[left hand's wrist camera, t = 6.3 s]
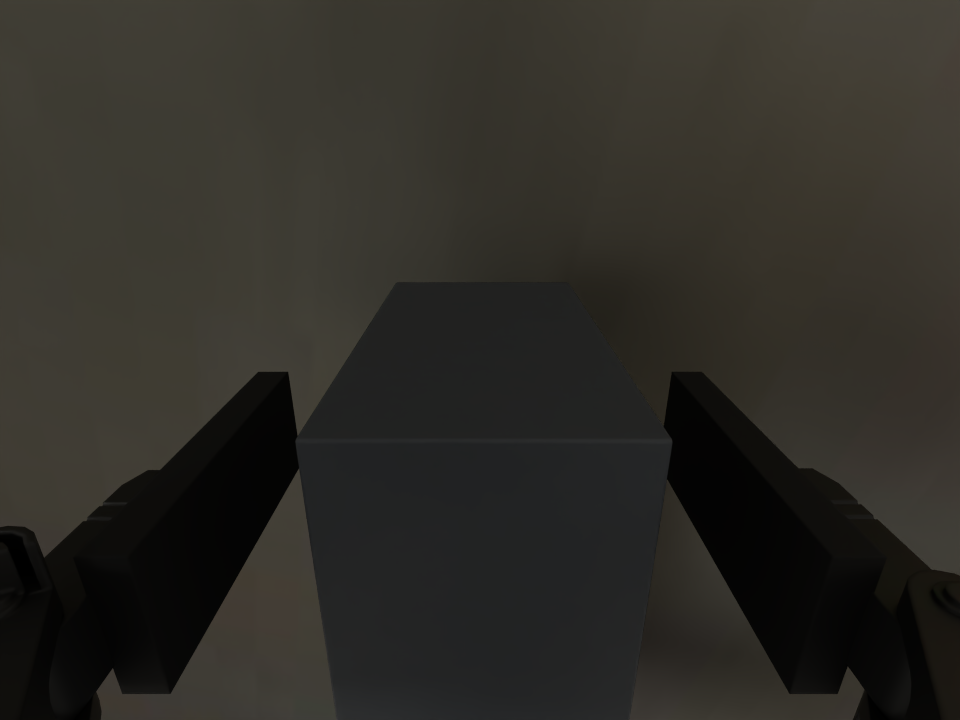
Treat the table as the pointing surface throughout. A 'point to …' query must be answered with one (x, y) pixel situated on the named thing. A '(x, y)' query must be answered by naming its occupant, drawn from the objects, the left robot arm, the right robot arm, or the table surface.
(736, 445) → the left robot arm
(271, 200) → the table surface
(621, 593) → the bar
